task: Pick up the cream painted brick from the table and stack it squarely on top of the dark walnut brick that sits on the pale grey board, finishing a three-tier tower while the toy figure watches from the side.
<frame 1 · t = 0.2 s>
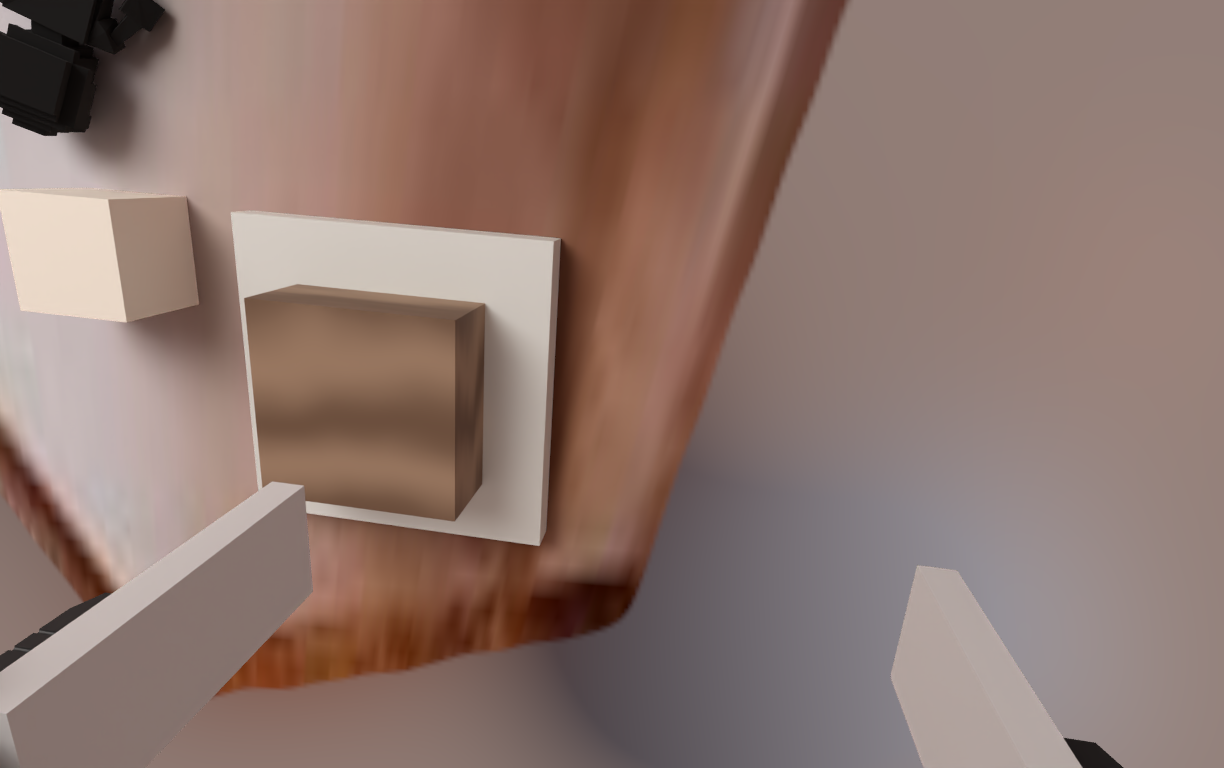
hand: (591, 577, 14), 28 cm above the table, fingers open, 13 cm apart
walnut brick: (392, 386, 42), point 2 cm above the table, touching plinth
toy: (99, 8, 40), on the table
plinth: (405, 377, 44), on the table
cream brick: (145, 246, 44), on the table
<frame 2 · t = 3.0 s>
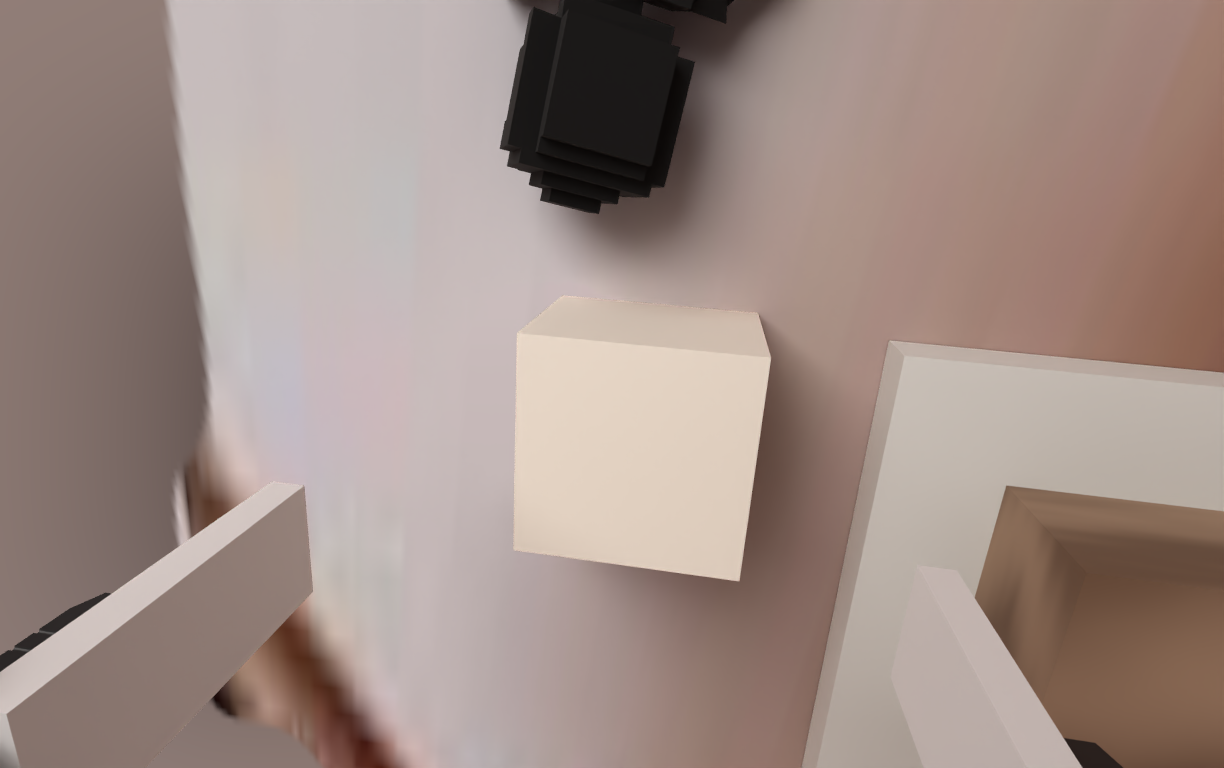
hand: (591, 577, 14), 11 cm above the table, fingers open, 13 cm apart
walnut brick: (1145, 662, 23), point 2 cm above the table, touching plinth
plinth: (1112, 625, 25), on the table
cream brick: (650, 395, 25), on the table
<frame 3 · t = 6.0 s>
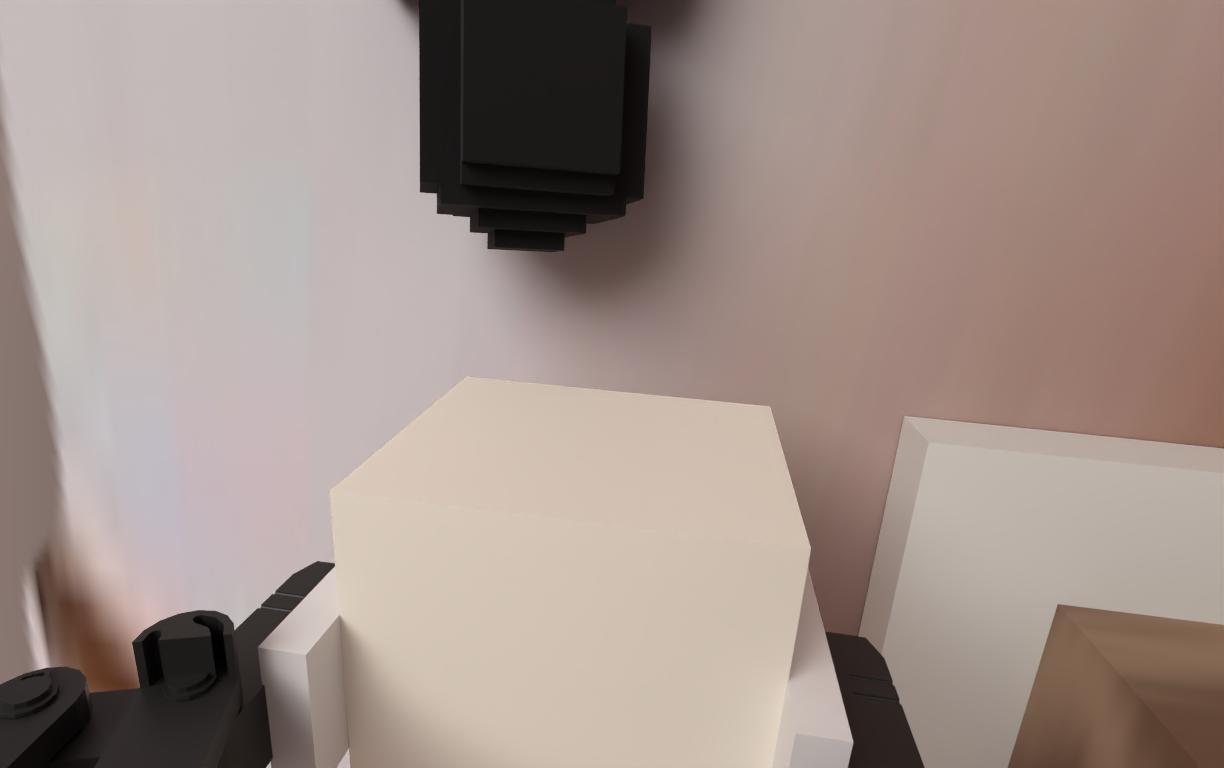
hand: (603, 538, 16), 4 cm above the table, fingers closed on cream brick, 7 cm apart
plinth: (1179, 761, 20), on the table
cream brick: (605, 526, 16), point 4 cm above the table, touching gripper
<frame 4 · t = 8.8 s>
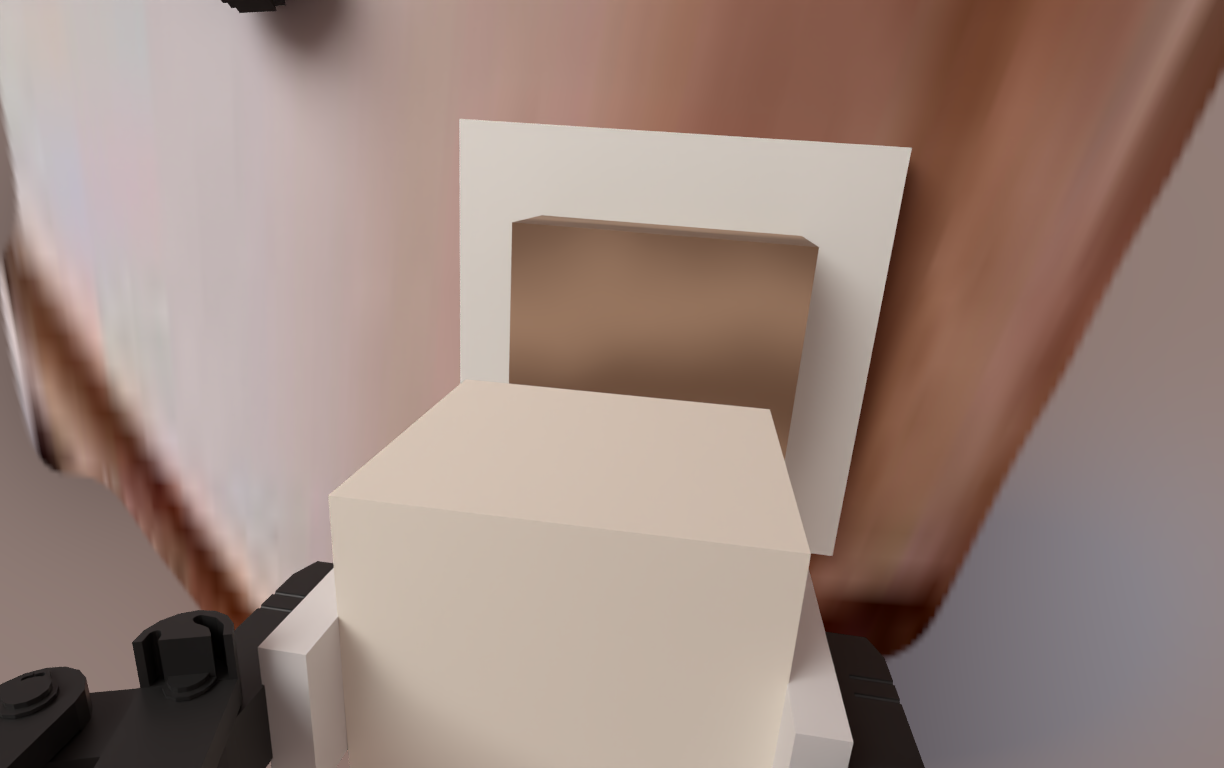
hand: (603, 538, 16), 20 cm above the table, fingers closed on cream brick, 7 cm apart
walnut brick: (657, 350, 32), point 2 cm above the table, touching plinth
plinth: (660, 341, 34), on the table
cream brick: (605, 529, 16), point 19 cm above the table, touching gripper
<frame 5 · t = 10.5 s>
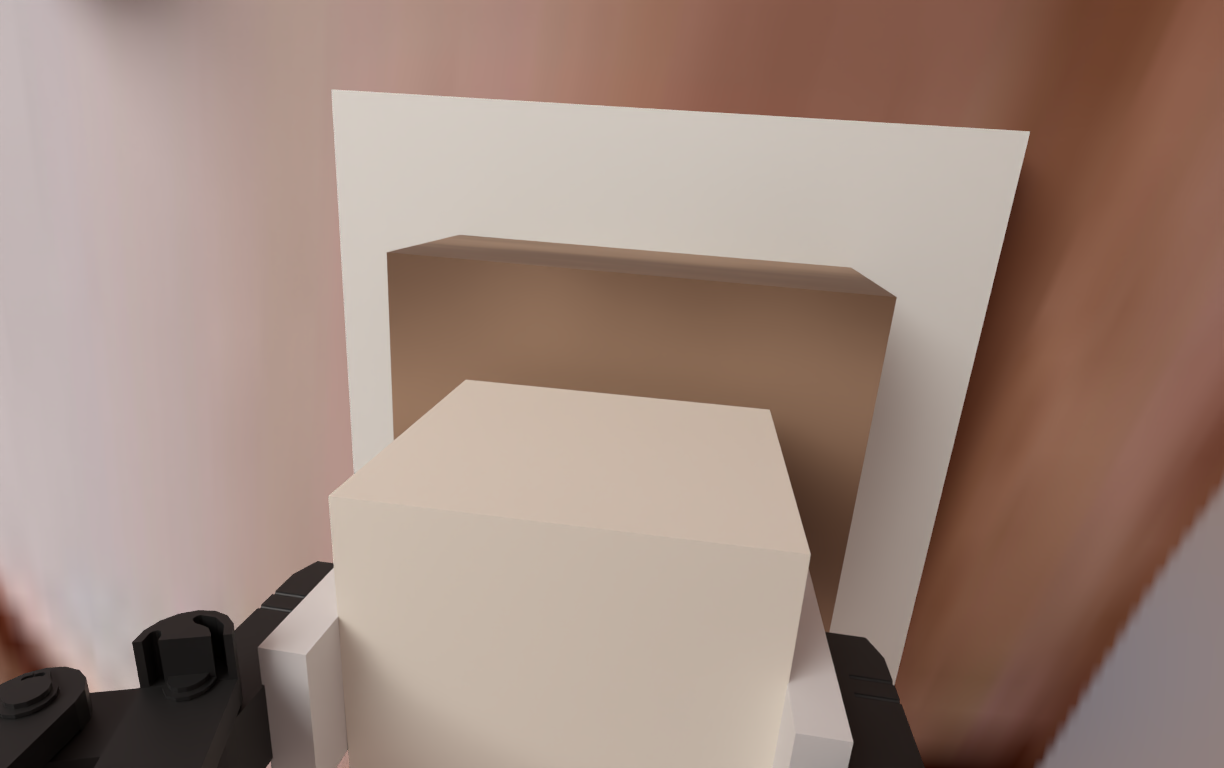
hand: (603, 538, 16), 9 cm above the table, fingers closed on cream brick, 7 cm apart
walnut brick: (633, 432, 22), point 2 cm above the table, touching plinth
plinth: (639, 412, 24), on the table
cream brick: (605, 529, 16), point 8 cm above the table, touching gripper
when the fingers open (8 cm above the table, at t = 11.6 s): cream brick stays where it is, resting on walnut brick.
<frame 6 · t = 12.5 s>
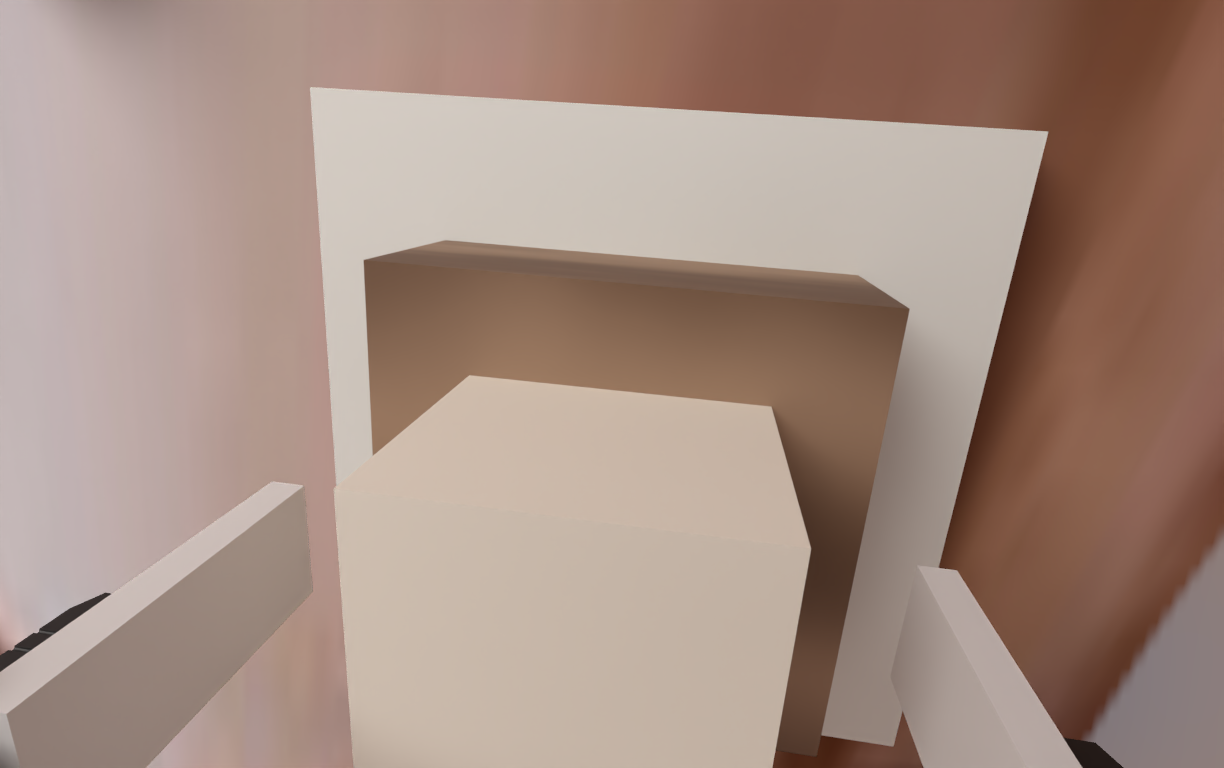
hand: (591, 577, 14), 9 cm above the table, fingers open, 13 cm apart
walnut brick: (629, 447, 21), point 2 cm above the table, touching cream brick, plinth
plinth: (635, 425, 23), on the table
cream brick: (607, 525, 16), point 7 cm above the table, touching walnut brick
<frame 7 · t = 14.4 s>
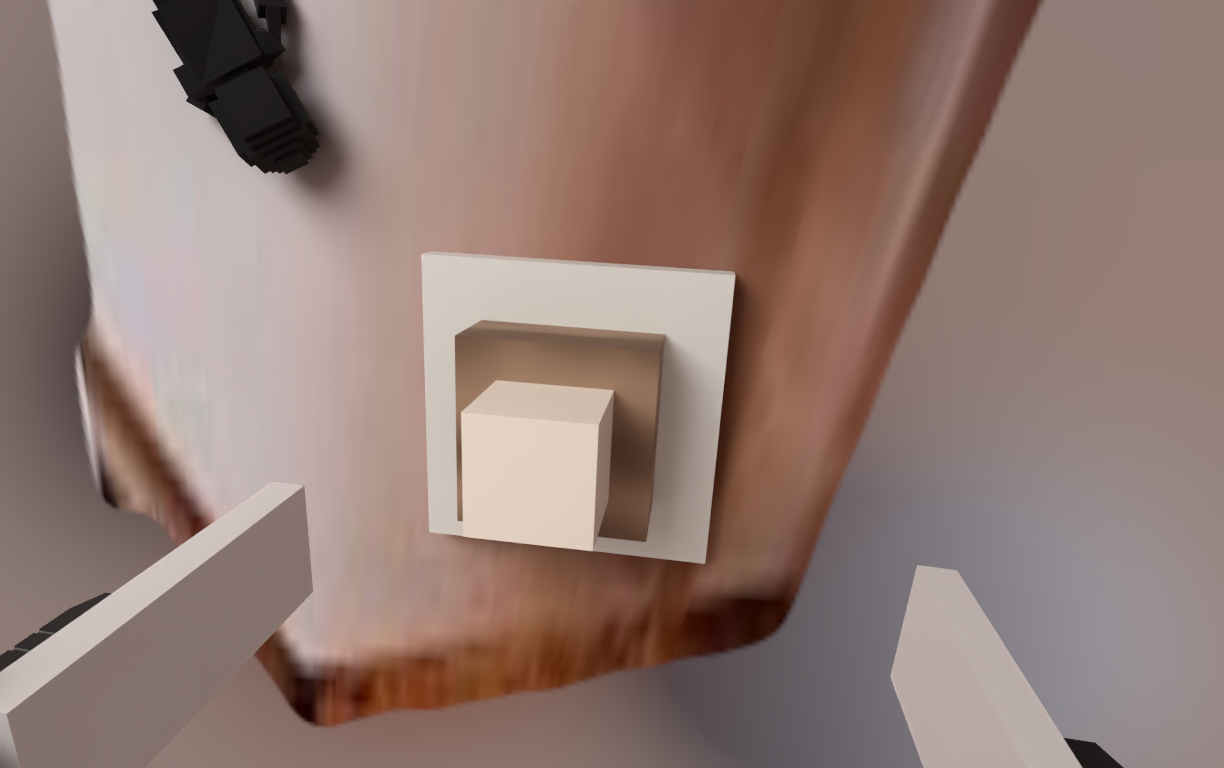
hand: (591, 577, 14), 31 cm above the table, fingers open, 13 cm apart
walnut brick: (568, 415, 44), point 2 cm above the table, touching cream brick, plinth
toy: (251, 60, 43), on the table
plinth: (574, 405, 46), on the table
cream brick: (553, 441, 40), point 7 cm above the table, touching walnut brick
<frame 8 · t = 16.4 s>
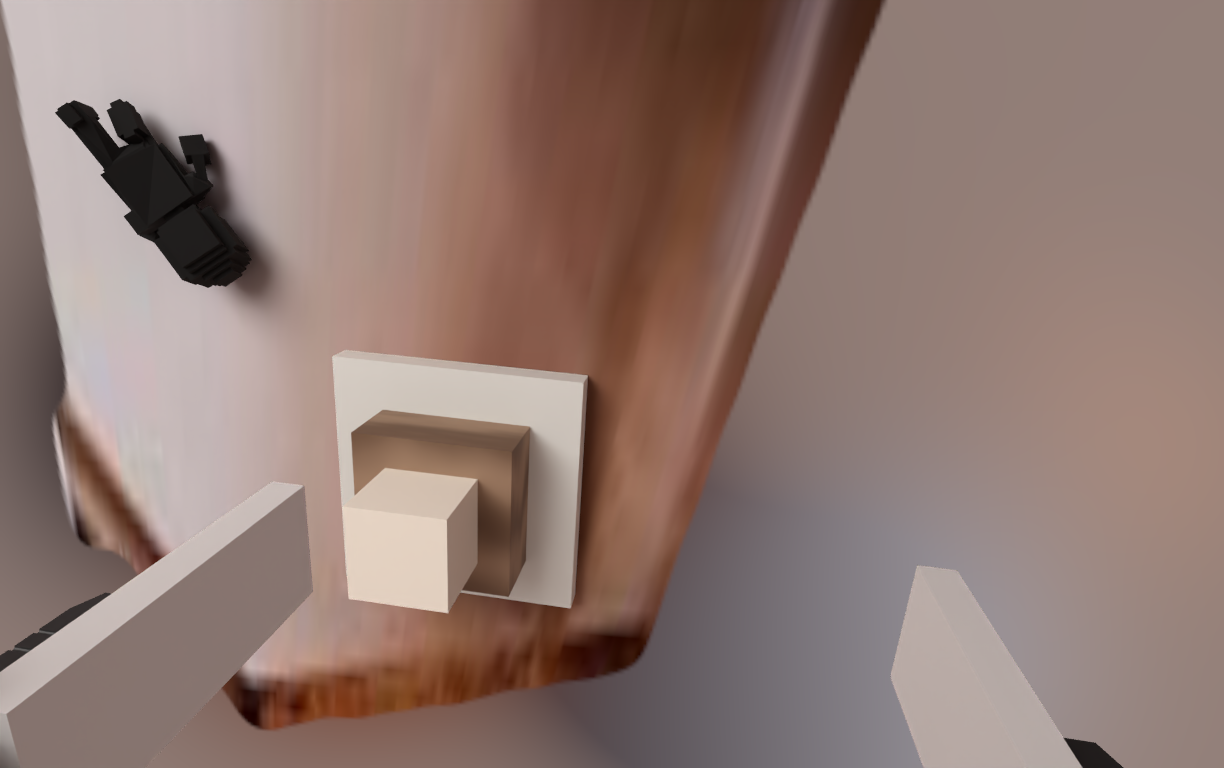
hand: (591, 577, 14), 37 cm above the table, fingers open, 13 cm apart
walnut brick: (455, 486, 54), point 2 cm above the table, touching cream brick, plinth
toy: (188, 194, 52), on the table
plinth: (464, 476, 56), on the table
cream brick: (431, 516, 49), point 7 cm above the table, touching walnut brick
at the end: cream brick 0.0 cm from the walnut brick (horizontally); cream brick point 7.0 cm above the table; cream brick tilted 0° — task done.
